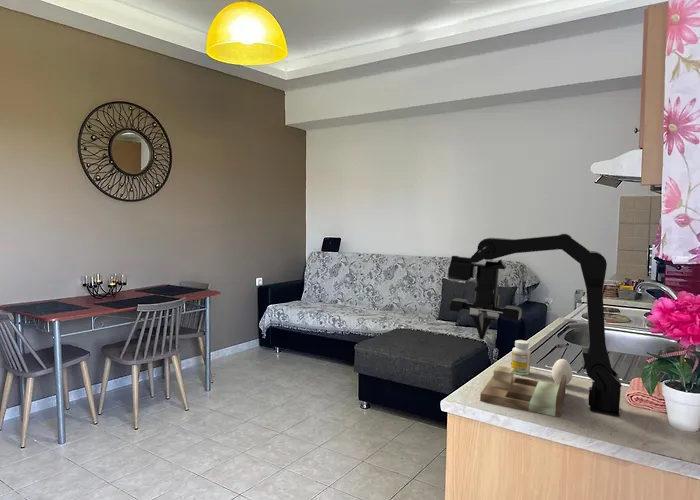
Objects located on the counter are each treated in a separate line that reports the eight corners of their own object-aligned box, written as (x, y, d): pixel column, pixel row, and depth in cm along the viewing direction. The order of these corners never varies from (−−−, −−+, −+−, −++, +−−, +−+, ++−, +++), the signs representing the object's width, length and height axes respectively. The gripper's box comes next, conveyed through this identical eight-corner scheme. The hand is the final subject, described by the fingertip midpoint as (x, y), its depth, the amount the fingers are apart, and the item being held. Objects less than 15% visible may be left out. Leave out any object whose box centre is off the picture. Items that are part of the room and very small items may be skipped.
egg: (572, 384, 137) (573, 358, 136) (570, 390, 132) (572, 363, 132) (552, 380, 140) (553, 355, 139) (550, 386, 135) (551, 360, 134)
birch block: (513, 384, 130) (513, 368, 130) (510, 389, 126) (511, 373, 126) (496, 381, 132) (497, 365, 132) (492, 386, 128) (493, 370, 128)
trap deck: (565, 392, 130) (566, 375, 130) (559, 417, 114) (560, 397, 114) (494, 379, 139) (495, 363, 139) (480, 400, 123) (480, 381, 123)
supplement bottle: (518, 368, 150) (520, 338, 149) (533, 373, 145) (535, 342, 144) (507, 371, 147) (508, 340, 146) (521, 376, 142) (523, 344, 142)
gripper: (527, 284, 132) (522, 339, 134) (460, 276, 141) (456, 327, 142) (520, 289, 122) (515, 348, 124) (450, 280, 131) (445, 335, 133)
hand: (482, 339), depth 131 cm, fingers closed
